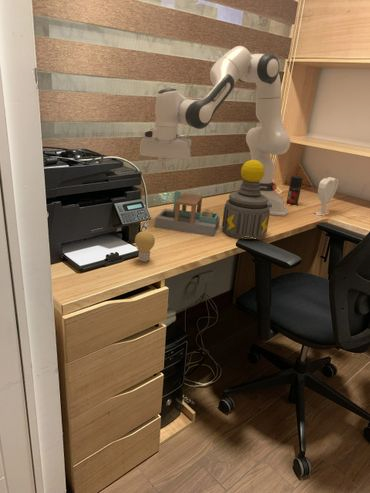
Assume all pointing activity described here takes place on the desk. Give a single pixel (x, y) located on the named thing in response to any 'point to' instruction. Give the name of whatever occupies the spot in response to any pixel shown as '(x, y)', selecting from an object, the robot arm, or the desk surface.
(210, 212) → the maple block
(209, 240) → the desk surface
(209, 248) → the desk surface
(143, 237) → the light bulb
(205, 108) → the robot arm
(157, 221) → the tunnel deck
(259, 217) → the toy power generator
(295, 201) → the deodorant
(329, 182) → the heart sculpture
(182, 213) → the sled
